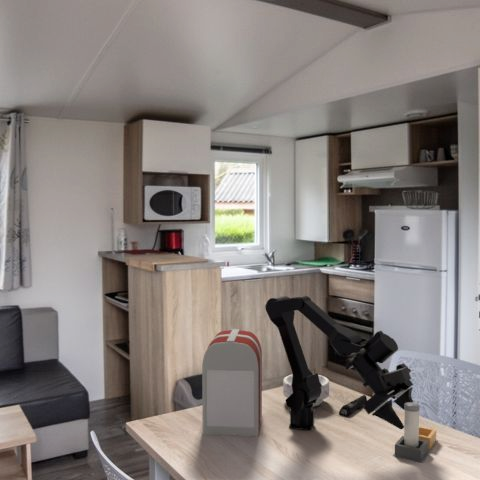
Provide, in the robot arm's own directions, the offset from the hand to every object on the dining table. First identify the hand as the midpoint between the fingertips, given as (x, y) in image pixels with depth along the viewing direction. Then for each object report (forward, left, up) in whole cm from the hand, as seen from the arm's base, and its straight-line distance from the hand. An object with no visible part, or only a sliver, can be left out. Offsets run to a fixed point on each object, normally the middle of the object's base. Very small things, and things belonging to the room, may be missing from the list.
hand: (410, 423), depth 144 cm
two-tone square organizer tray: (+2, +4, -9) cm, 10 cm away
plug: (0, 0, -8) cm, 8 cm away
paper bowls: (-33, +34, -9) cm, 48 cm away
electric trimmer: (-17, +32, -10) cm, 38 cm away
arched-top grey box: (-51, +10, -9) cm, 52 cm away
